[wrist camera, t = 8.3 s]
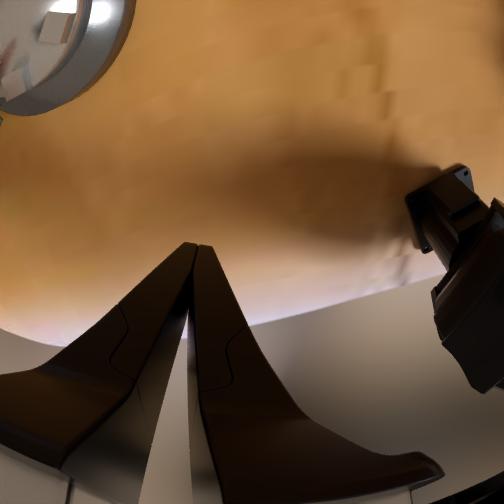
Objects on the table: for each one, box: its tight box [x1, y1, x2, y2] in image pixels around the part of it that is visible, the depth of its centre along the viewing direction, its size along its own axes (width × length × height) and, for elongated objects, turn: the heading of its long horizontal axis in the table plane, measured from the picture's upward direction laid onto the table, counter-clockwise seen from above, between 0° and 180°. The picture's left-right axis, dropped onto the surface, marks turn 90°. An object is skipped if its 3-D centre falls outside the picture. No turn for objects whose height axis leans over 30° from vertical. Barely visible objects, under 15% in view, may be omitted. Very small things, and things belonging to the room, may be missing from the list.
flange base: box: [0, 0, 136, 125], centre depth 13 cm, size 14×21×2 cm, turn 123°
